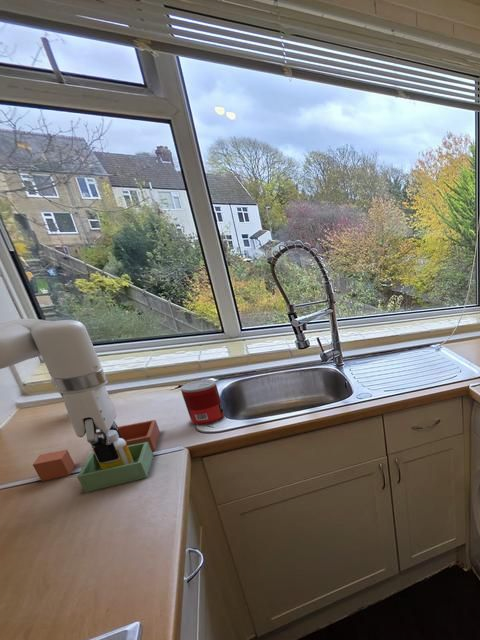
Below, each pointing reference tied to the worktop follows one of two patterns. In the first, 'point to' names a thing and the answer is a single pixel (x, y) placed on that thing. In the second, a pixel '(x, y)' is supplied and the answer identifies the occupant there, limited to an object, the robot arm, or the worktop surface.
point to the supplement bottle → (121, 450)
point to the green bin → (116, 469)
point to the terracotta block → (54, 465)
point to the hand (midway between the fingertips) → (112, 452)
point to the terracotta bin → (141, 433)
